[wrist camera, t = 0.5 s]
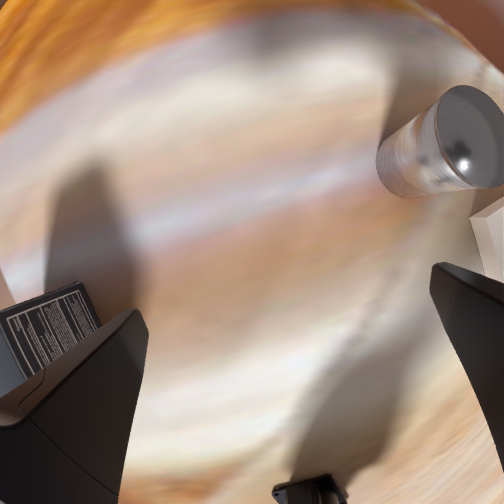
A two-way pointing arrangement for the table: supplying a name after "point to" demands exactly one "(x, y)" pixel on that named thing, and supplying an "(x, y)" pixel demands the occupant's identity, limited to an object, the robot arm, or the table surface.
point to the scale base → (491, 238)
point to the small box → (42, 332)
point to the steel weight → (446, 147)
